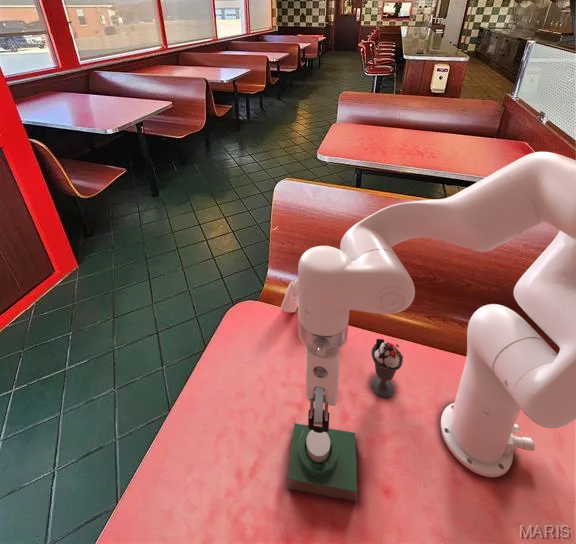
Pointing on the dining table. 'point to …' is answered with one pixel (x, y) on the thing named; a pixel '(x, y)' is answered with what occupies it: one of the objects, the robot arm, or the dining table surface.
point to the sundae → (385, 366)
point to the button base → (324, 465)
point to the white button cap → (318, 446)
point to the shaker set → (290, 298)
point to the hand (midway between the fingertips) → (319, 400)
